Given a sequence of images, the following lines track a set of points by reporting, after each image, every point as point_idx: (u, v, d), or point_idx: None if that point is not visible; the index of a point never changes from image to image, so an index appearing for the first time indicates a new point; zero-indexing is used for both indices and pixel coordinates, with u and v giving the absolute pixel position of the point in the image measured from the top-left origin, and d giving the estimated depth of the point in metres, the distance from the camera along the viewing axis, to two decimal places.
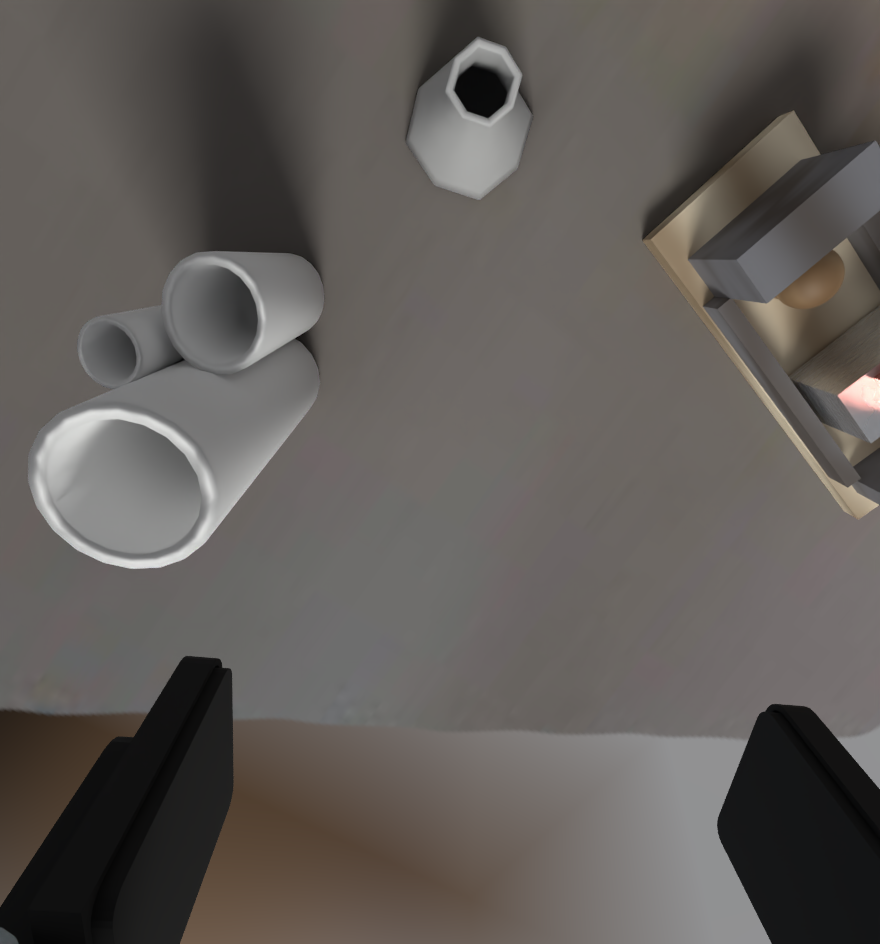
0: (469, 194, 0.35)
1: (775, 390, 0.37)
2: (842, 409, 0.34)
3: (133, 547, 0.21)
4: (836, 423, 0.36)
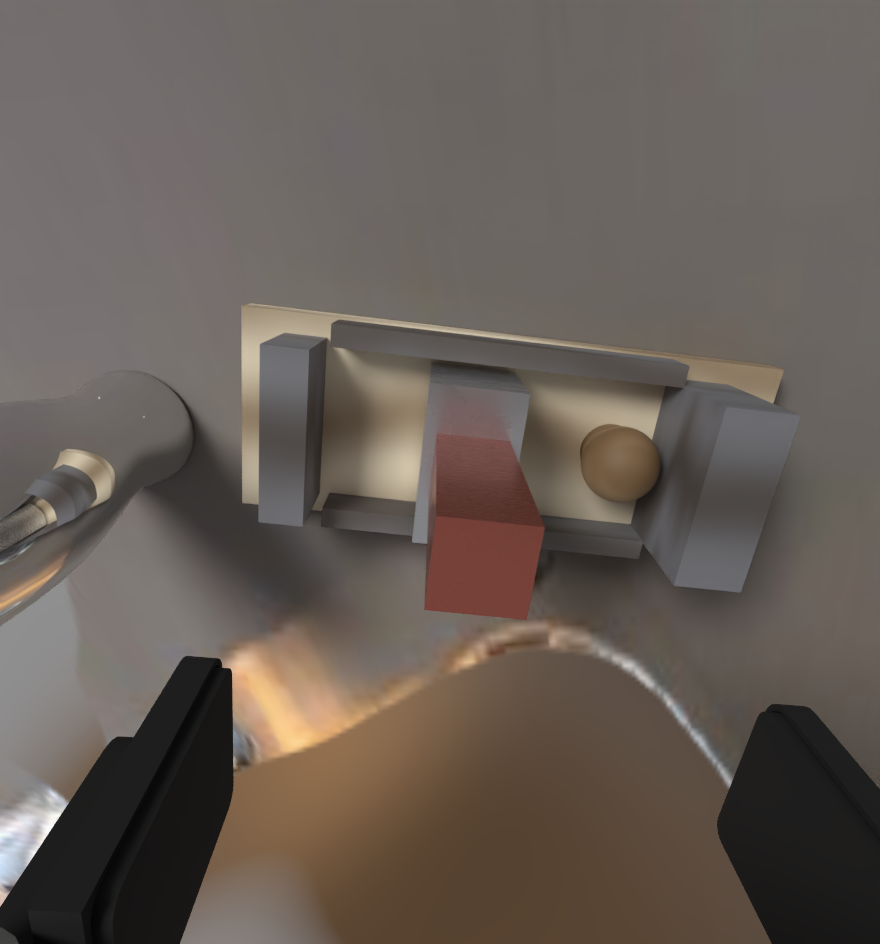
0: None
1: (536, 347, 0.25)
2: (494, 387, 0.23)
3: None
4: (446, 373, 0.25)
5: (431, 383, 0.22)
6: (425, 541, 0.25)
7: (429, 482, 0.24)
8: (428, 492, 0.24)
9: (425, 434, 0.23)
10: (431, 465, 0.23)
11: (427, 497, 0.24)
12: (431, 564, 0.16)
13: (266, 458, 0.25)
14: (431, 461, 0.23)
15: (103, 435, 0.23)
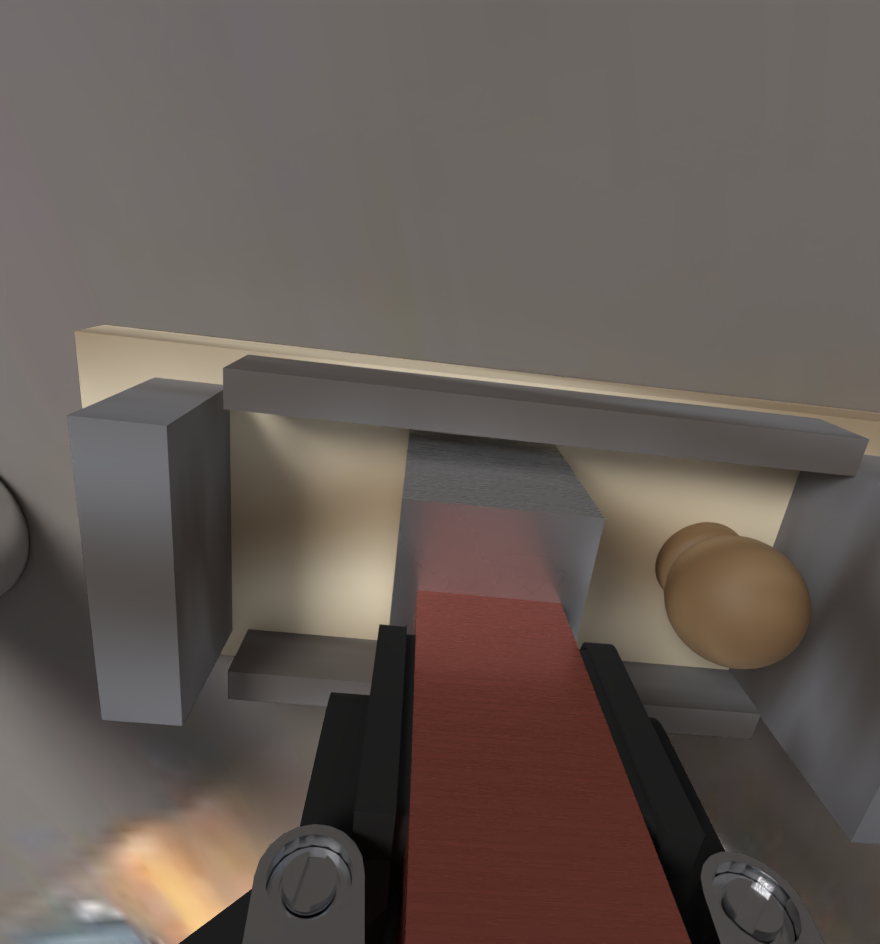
0: None
1: (598, 407, 0.14)
2: (530, 499, 0.12)
3: None
4: (437, 459, 0.13)
5: (406, 499, 0.11)
6: None
7: None
8: None
9: (395, 592, 0.12)
10: None
11: None
12: None
13: (104, 617, 0.13)
14: None
15: None
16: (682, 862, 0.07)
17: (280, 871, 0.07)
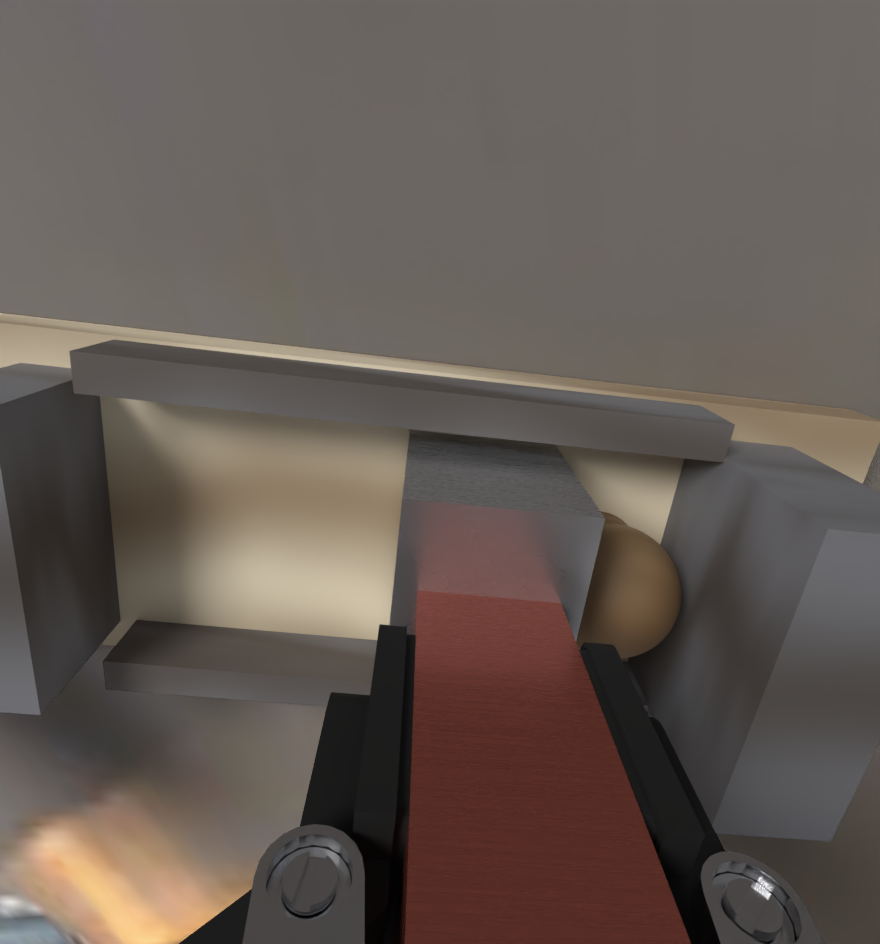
0: None
1: (458, 392, 0.14)
2: (530, 499, 0.12)
3: None
4: (437, 459, 0.13)
5: (406, 499, 0.11)
6: None
7: None
8: None
9: (395, 592, 0.12)
10: None
11: None
12: None
13: None
14: None
15: None
16: (682, 862, 0.07)
17: (280, 872, 0.07)
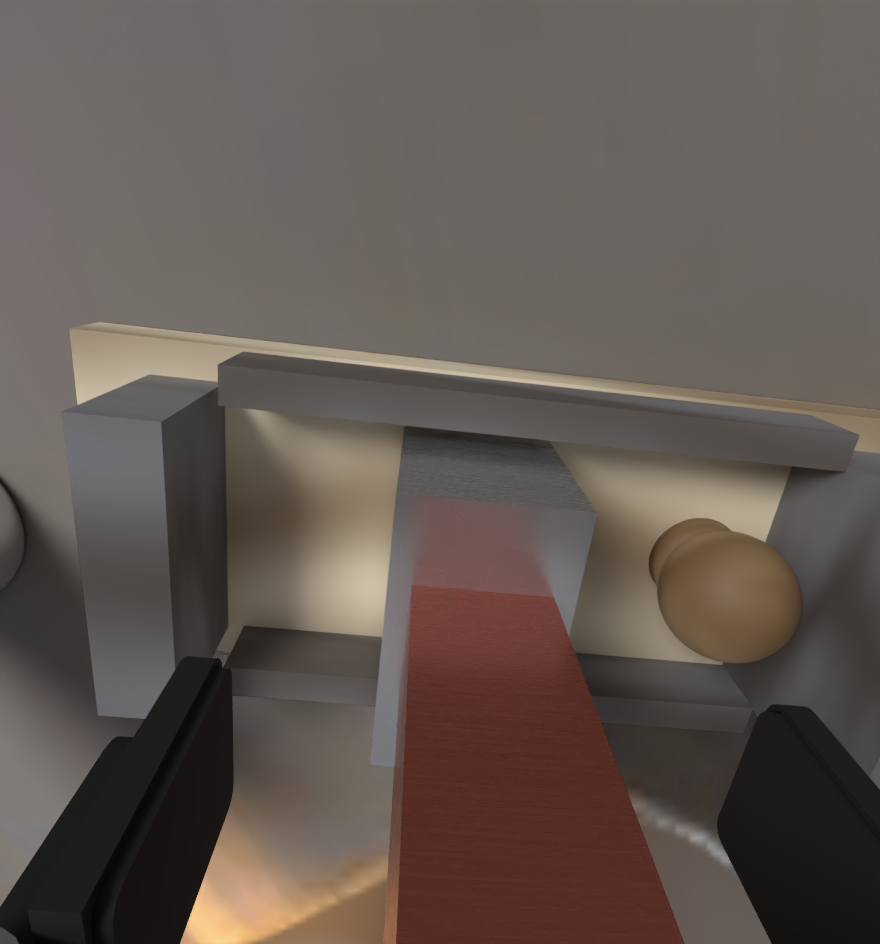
0: None
1: (591, 403, 0.14)
2: (523, 495, 0.12)
3: None
4: (432, 455, 0.13)
5: (399, 494, 0.11)
6: (395, 763, 0.14)
7: (399, 668, 0.13)
8: (398, 686, 0.13)
9: (390, 587, 0.12)
10: (402, 641, 0.12)
11: (396, 694, 0.13)
12: None
13: (99, 613, 0.14)
14: (402, 633, 0.12)
15: None
16: None
17: None
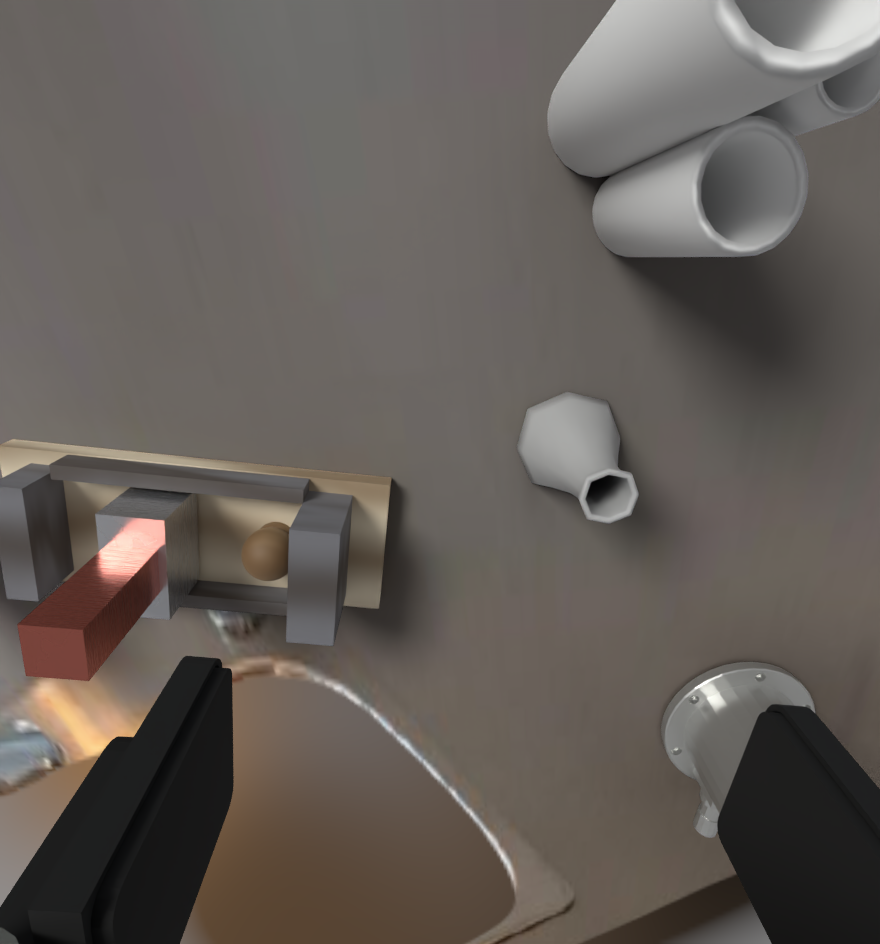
0: (538, 407, 0.39)
1: (196, 477, 0.37)
2: (144, 514, 0.34)
3: None
4: (128, 498, 0.36)
5: (96, 514, 0.34)
6: None
7: None
8: None
9: (99, 545, 0.34)
10: None
11: None
12: (22, 650, 0.28)
13: (5, 557, 0.36)
14: None
15: None
16: None
17: None
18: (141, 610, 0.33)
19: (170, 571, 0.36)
